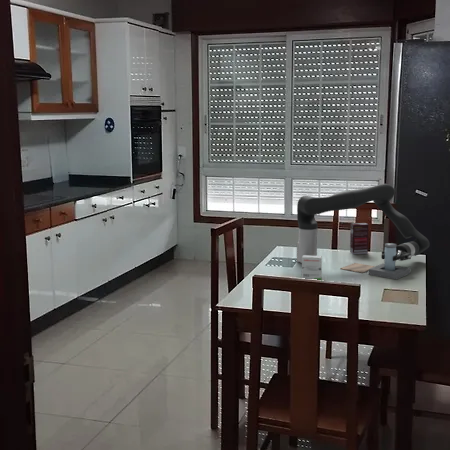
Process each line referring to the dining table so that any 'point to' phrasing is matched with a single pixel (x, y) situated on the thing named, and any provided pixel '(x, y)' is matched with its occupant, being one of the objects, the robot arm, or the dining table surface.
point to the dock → (389, 272)
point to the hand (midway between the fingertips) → (388, 257)
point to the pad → (357, 267)
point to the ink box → (312, 267)
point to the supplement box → (359, 238)
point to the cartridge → (389, 256)
